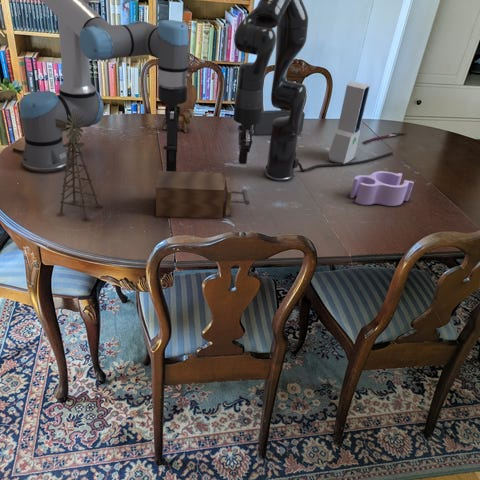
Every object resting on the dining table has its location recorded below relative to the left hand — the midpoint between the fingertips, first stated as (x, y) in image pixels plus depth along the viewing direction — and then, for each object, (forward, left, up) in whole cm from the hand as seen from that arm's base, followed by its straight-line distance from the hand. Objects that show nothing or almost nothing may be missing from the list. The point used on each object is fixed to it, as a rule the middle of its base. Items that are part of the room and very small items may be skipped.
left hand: (171, 160), depth 134 cm
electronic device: (+55, +58, -15) cm, 81 cm away
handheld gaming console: (+28, +78, -15) cm, 84 cm away
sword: (+77, +90, -15) cm, 119 cm away
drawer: (+11, +2, -14) cm, 18 cm away
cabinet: (+5, +1, -15) cm, 16 cm away
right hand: (+20, +5, 0) cm, 20 cm away
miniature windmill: (-25, -9, -15) cm, 31 cm away
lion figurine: (-14, +66, -15) cm, 69 cm away
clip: (+66, +27, -15) cm, 73 cm away
